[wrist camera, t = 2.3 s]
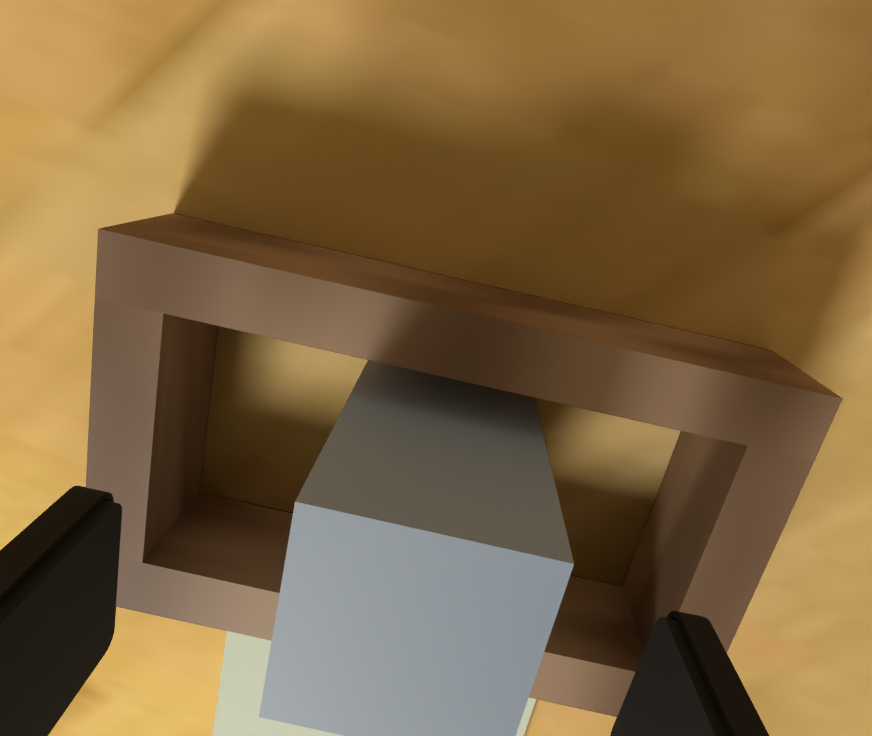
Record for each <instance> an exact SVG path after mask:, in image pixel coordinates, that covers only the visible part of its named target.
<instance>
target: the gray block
mask: <svg viewBox="0 0 872 736" xmlns="http://www.w3.org/2000/svg"><path fill="white" fill-rule="evenodd" d="M573 566H574V561H573V557H572V553H571V549H570V544H569V540H568V536H567V532H566V527H565V523H564V519H563V515H562V510H561V506H560V502H559V498H558V493H557V489H556V485H555V481H554V476H553V472H552V468H551V464H550V459H549V455H548V451H547V447H546V442H545V438H544V434H543V430H542V425H541V421H540V417H539V413H538V408H537V404H536V400H535V398H534V397H530V396H525V395H521V394H517V393H512V392H508V391H503V390H499V389H495V388H490V387H486V386H481V385H477V384H472V383H468V382H464V381H459V380H455V379H450V378H446V377H442V376H437V375H433V374H428V373H424V372H420V371H415V370H411V369H406V368H402V367H397V366H393V365H389V364H384V363H380V362H375V361H371V360H368V361H367V363H366V365H365V367H364V369H363V371H362V373H361V375H360V377H359V379H358V381H357V383H356V385H355V387H354V388H353V390H352V392H351V394H350V396H349V398H348V400H347V402H346V404H345V406H344V408H343V410H342V412H341V414H340V416H339V417H338V419H337V421H336V423H335V425H334V427H333V429H332V431H331V433H330V435H329V437H328V439H327V441H326V443H325V445H324V447H323V448H322V450H321V452H320V454H319V456H318V458H317V460H316V462H315V464H314V466H313V468H312V470H311V472H310V474H309V476H308V477H307V479H306V481H305V483H304V485H303V487H302V489H301V491H300V493H299V495H298V497H297V499H296V501H295V505H294V511H293V517H292V523H291V529H290V535H289V541H288V546H287V552H286V558H285V564H284V570H283V576H282V582H281V588H280V594H279V600H278V606H277V612H276V618H275V624H274V630H273V636H272V641H271V647H270V653H269V659H268V665H267V671H266V677H265V683H264V689H263V695H262V701H261V707H260V713H259V717H261V718H265V719H270V720H275V721H279V722H284V723H288V724H293V725H297V726H302V727H307V728H311V729H316V730H320V731H325V732H329V733H334V734H339V735H343V736H516V733H517V730H518V727H519V724H520V721H521V718H522V715H523V712H524V710H525V707H526V704H527V701H528V698H529V695H530V692H531V689H532V686H533V683H534V680H535V677H536V674H537V671H538V668H539V666H540V663H541V660H542V657H543V654H544V651H545V648H546V645H547V642H548V639H549V636H550V633H551V630H552V627H553V624H554V622H555V619H556V616H557V613H558V610H559V607H560V604H561V601H562V598H563V595H564V592H565V589H566V586H567V583H568V580H569V578H570V575H571V572H572V569H573Z"/></svg>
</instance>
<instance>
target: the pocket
mask: <svg viewBox="0 0 872 736" xmlns="http://www.w3.org/2000/svg"><path fill="white" fill-rule="evenodd" d="M218 326H221V327H225V328H230V329H234V330H239V331H243V332H247V333H252V334H256V335H261V336H265V337H270V338H274V339H278V340H283V341H287V342H292V343H296V344H300V345H305V346H309V347H314V348H318V349H322V350H327V351H331V352H336V353H340V354H345V355H349V356H353V357H358V358H362V359H367V360H371V361H375V362H380V363H384V364H389V365H393V366H397V367H402V368H406V369H411V370H415V371H420V372H424V373H428V374H433V375H437V376H442V377H446V378H450V379H455V380H459V381H464V382H468V383H472V384H477V385H481V386H486V387H490V388H495V389H499V390H503V391H508V392H512V393H517V394H521V395H525V396H530V397H534V398H539V399H543V400H547V401H552V402H556V403H561V404H565V405H570V406H574V407H578V408H583V409H587V410H592V411H596V412H600V413H605V414H609V415H614V416H618V417H622V418H627V419H631V420H636V421H640V422H645V423H649V424H653V425H658V426H662V427H667V428H671V429H675V430H680V431H681V433H680V435H679V438H678V441H677V443H676V446H675V449H674V451H673V454H672V457H671V459H670V462H669V465H668V467H667V470H666V473H665V475H664V478H663V481H662V483H661V486H660V489H659V491H658V494H657V497H656V499H655V502H654V505H653V507H652V510H651V513H650V515H649V518H648V521H647V523H646V526H645V529H644V531H643V534H642V537H641V539H640V542H639V545H638V547H637V550H636V553H635V555H634V558H633V561H632V563H631V566H630V569H629V571H628V574H627V577H626V579H625V582H624V585H623V587H620V586H616V585H611V584H607V583H602V582H598V581H593V580H589V579H584V578H580V577H575V576H571V575H570V578H569V580H568V583H567V586H566V589H565V592H564V595H563V598H562V601H561V604H560V607H559V610H558V613H557V616H556V619H555V622H554V624H553V627H552V630H551V633H550V636H549V639H548V642H547V645H546V648H545V651H544V654H543V657H542V660H541V663H540V666H539V668H538V671H537V674H536V677H535V680H534V683H533V686H532V689H531V692H530V695H529V698H533V699H538V700H542V701H547V702H551V703H556V704H561V705H565V706H570V707H574V708H579V709H583V710H588V711H592V712H597V713H601V714H606V715H610V716H615V717H617V716H618V714H619V711H620V709H621V706H622V704H623V701H624V699H625V697H626V694H627V692H628V689H629V687H630V684H631V682H632V679H633V677H634V675H635V672H636V670H637V667H638V665H639V662H640V660H641V657H642V655H643V653H644V650H645V648H646V645H647V643H648V640H649V638H650V635H651V633H652V630H653V628H654V626H655V623H656V621H657V619H659V618H660V617H667V615H668V614H669V613H670V612H671V611H679V612H684V613H689V614H693V615H698V616H703V617H706V618H708V620H709V621H710V622H711V624H712V626H713V628H714V630H715V632H716V634H717V636H718V637H719V639H720V641H721V643H722V645H723V647H724V649H725V651H726V653H727V651H728V649H729V647H730V645H731V642H732V640H733V638H734V636H735V634H736V631H737V629H738V627H739V625H740V623H741V620H742V618H743V616H744V614H745V612H746V609H747V607H748V605H749V603H750V601H751V599H752V596H753V594H754V592H755V590H756V588H757V585H758V583H759V581H760V579H761V577H762V574H763V572H764V570H765V568H766V566H767V563H768V561H769V559H770V557H771V555H772V552H773V550H774V548H775V546H776V544H777V541H778V539H779V537H780V535H781V533H782V531H783V528H784V526H785V524H786V522H787V520H788V517H789V515H790V513H791V511H792V509H793V506H794V504H795V502H796V500H797V498H798V495H799V493H800V491H801V489H802V487H803V484H804V482H805V480H806V478H807V476H808V473H809V471H810V469H811V467H812V465H813V462H814V460H815V458H816V456H817V454H818V452H819V449H820V447H821V445H822V443H823V441H824V438H825V436H826V434H827V432H828V430H829V427H830V425H831V423H832V421H833V419H834V416H835V414H836V412H837V410H838V408H839V405H840V403H841V401H842V398H841V397H839V396H838V395H836V394H835V393H834V392H832V391H831V390H829V389H828V388H826V387H825V386H823V385H822V384H820V383H819V382H817V381H816V380H814V379H813V378H811V377H810V376H808V375H807V374H806V373H804V372H803V371H801V370H800V369H798V368H797V367H795V366H794V365H792V364H791V363H789V362H788V361H786V360H785V359H783V358H782V357H780V356H779V355H778V354H776V353H775V352H773V351H772V350H767V349H763V348H759V347H754V346H750V345H745V344H741V343H737V342H732V341H728V340H724V339H719V338H715V337H711V336H706V335H702V334H697V333H693V332H689V331H684V330H680V329H676V328H671V327H667V326H662V325H658V324H654V323H649V322H645V321H641V320H636V319H632V318H627V317H623V316H619V315H614V314H610V313H606V312H601V311H597V310H592V309H588V308H584V307H579V306H575V305H571V304H566V303H562V302H558V301H553V300H549V299H544V298H540V297H536V296H531V295H527V294H523V293H518V292H514V291H509V290H505V289H501V288H496V287H492V286H488V285H483V284H479V283H474V282H470V281H466V280H461V279H457V278H453V277H448V276H444V275H440V274H435V273H431V272H426V271H422V270H418V269H413V268H409V267H405V266H400V265H396V264H391V263H387V262H383V261H378V260H374V259H370V258H365V257H361V256H356V255H352V254H348V253H343V252H339V251H335V250H330V249H326V248H322V247H317V246H313V245H308V244H304V243H300V242H295V241H291V240H287V239H282V238H278V237H273V236H269V235H265V234H260V233H256V232H252V231H247V230H243V229H238V228H234V227H230V226H225V225H221V224H217V223H212V222H208V221H203V220H199V219H195V218H190V217H186V216H182V215H177V214H173V213H172V214H167V215H162V216H158V217H153V218H148V219H143V220H138V221H134V222H129V223H124V224H119V225H114V226H110V227H105V228H100V229H98V245H97V265H96V286H95V307H94V328H93V349H92V370H91V390H90V411H89V432H88V453H87V474H86V488H91V489H96V490H101V491H105V492H110V493H111V494H112V495H113V498H114V502H115V503H119V504H121V506H122V522H121V537H120V552H119V567H118V583H117V598H116V607H120V608H125V609H129V610H134V611H138V612H143V613H147V614H152V615H157V616H161V617H166V618H170V619H175V620H179V621H184V622H188V623H193V624H197V625H202V626H206V627H211V628H216V629H220V630H225V631H229V632H234V633H238V634H243V635H247V636H252V637H256V638H261V639H266V640H270V641H272V636H273V630H274V624H275V618H276V612H277V606H278V600H279V594H280V588H281V582H282V576H283V570H284V564H285V558H286V552H287V546H288V541H289V535H290V529H291V523H292V517H293V513H289V512H284V511H280V510H275V509H271V508H266V507H262V506H257V505H253V504H248V503H244V502H239V501H235V500H230V499H226V498H221V497H217V496H212V495H208V494H203V493H199V491H200V482H201V473H202V464H203V455H204V446H205V437H206V429H207V420H208V411H209V402H210V393H211V384H212V375H213V367H214V358H215V349H216V340H217V331H218Z"/></svg>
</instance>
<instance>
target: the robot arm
mask: <svg viewBox="0 0 872 736" xmlns="http://www.w3.org/2000/svg"><path fill="white" fill-rule="evenodd" d="M121 522H122V506H121V504H119V503H115V502H114V498H113V495H112V494H111V493H110V492H105V491H101V490H96V489H91V488H86V487H82V486H74V487H72V488H71V489H69V490H68V491H67V492H66V493H65V494H64V495H63V496H62V497H60V498H59V499H58V500H57V501H56V502H55V503H54V504H52V505H51V506H50V507H49V508H48V509H47V510H46V511H45V512H43V513H42V514H41V515H40V516H39V517H38V518H37V519H35V520H34V521H33V522H32V523H31V524H30V525H29V526H28V527H26V528H25V529H24V530H23V531H22V532H21V533H20V534H19V535H17V536H16V537H15V538H14V539H13V540H12V541H11V542H9V543H8V544H7V545H6V546H5V547H4V548H3V549H2V550H0V736H48V734H49V733H50V732H51V730H52V729H53V727H54V726H55V724H56V723H57V722H58V720H59V719H60V717H61V716H62V714H63V713H64V712H65V710H66V709H67V707H68V706H69V704H70V703H71V702H72V700H73V699H74V697H75V696H76V694H77V693H78V692H79V690H80V689H81V687H82V686H83V684H84V683H85V682H86V680H87V679H88V677H89V676H90V674H91V673H92V672H93V670H94V669H95V667H96V666H97V664H98V663H99V662H100V660H101V659H102V657H103V656H104V654H105V653H106V651H107V649H108V647H109V645H110V643H111V640H112V637H113V634H114V628H115V613H116V598H117V583H118V567H119V552H120V537H121ZM611 736H769V734H768V732H767V731H766V729H765V727H764V725H763V723H762V721H761V719H760V717H759V715H758V713H757V711H756V709H755V707H754V705H753V703H752V701H751V700H750V698H749V696H748V694H747V692H746V690H745V688H744V686H743V684H742V682H741V680H740V678H739V676H738V674H737V672H736V670H735V668H734V667H733V665H732V663H731V661H730V659H729V657H728V655H727V653H726V651H725V649H724V647H723V645H722V643H721V641H720V639H719V637H718V636H717V634H716V632H715V630H714V628H713V626H712V624H711V622H710V621H709V620H708V618H706V617H703V616H698V615H693V614H689V613H684V612H679V611H671V612H670V613H669V614H668V615H667V617H660V618H659V619H657V621H656V623H655V626H654V628H653V630H652V633H651V635H650V638H649V640H648V643H647V645H646V648H645V650H644V653H643V655H642V657H641V660H640V662H639V665H638V667H637V670H636V672H635V675H634V677H633V679H632V682H631V684H630V687H629V689H628V692H627V694H626V697H625V699H624V701H623V704H622V706H621V709H620V711H619V714H618V716H617V719H616V721H615V724H614V726H613V728H612V732H611Z"/></svg>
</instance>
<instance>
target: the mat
mask: <svg viewBox="0 0 872 736" xmlns="http://www.w3.org/2000/svg"><path fill="white" fill-rule="evenodd" d="M270 647H271V641H270V640H266V639H261V638H256V637H252V636H247V635H243V634H238V633H234V632H229V631H227V636H226V643H225V650H224V657H223V664H222V671H221V679H220V686H219V693H218V700H217V707H216V714H215V721H214V729H213V736H343V735H339V734H334V733H329V732H325V731H320V730H316V729H311V728H307V727H302V726H297V725H293V724H288V723H284V722H279V721H275V720H270V719H265V718H261V717H259V713H260V707H261V701H262V695H263V689H264V683H265V677H266V671H267V665H268V659H269V653H270ZM535 702H536V699H533V698H528V701H527V704H526V707H525V710H524V712H523V715H522V718H521V721H520V724H519V727H518V730H517V733H516V736H524V734H525V731H526V728H527V725H528V722H529V719H530V716H531V713H532V711H533V708H534V705H535Z"/></svg>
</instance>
